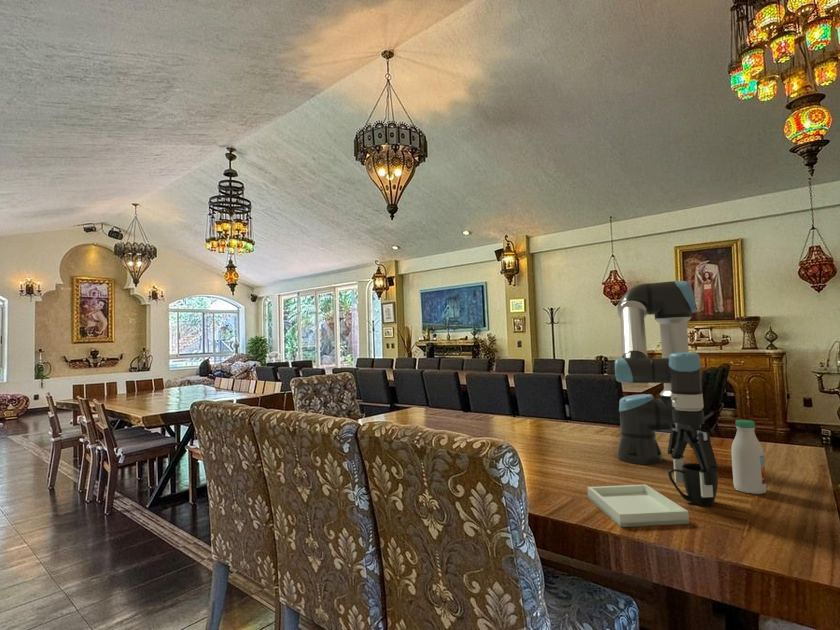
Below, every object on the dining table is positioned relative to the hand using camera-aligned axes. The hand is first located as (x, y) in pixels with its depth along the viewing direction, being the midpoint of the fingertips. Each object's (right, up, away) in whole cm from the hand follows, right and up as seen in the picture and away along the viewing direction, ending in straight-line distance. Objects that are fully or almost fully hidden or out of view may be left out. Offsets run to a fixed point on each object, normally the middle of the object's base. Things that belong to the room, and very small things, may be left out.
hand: (693, 489), depth 123 cm
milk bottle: (+21, -3, +7) cm, 22 cm away
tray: (-18, -4, -4) cm, 19 cm away
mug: (0, -4, 0) cm, 4 cm away
